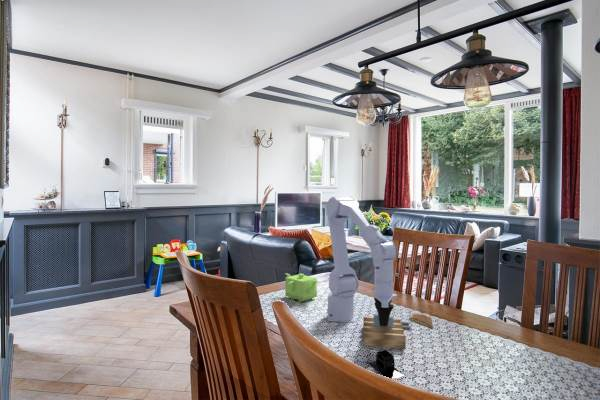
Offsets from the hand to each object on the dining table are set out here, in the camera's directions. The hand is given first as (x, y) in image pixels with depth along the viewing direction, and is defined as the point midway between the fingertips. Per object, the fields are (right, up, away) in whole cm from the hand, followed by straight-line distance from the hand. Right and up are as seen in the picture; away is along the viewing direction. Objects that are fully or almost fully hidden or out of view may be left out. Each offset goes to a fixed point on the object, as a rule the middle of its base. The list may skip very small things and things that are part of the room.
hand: (383, 323), depth 113 cm
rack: (0, -5, 0) cm, 5 cm away
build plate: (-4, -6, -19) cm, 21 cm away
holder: (+8, -5, +10) cm, 13 cm away
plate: (0, -4, 0) cm, 4 cm away
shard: (+19, -5, +14) cm, 24 cm away
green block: (-26, -4, +41) cm, 48 cm away
